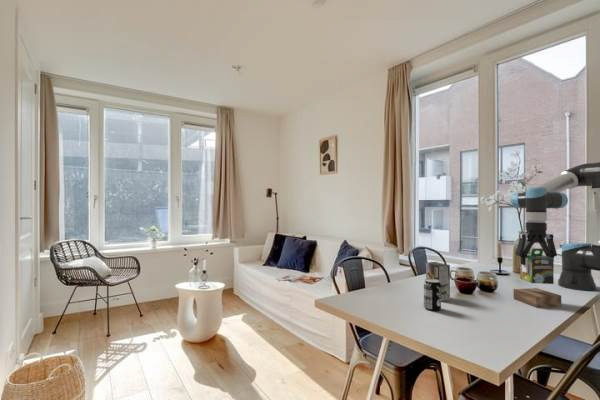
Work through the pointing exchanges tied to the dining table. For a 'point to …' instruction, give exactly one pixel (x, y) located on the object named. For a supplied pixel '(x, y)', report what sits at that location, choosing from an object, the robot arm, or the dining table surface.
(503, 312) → the dining table surface
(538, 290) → the walnut block
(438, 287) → the beverage can
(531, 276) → the chalk box
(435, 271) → the coffee box
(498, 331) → the dining table surface
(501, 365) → the dining table surface
